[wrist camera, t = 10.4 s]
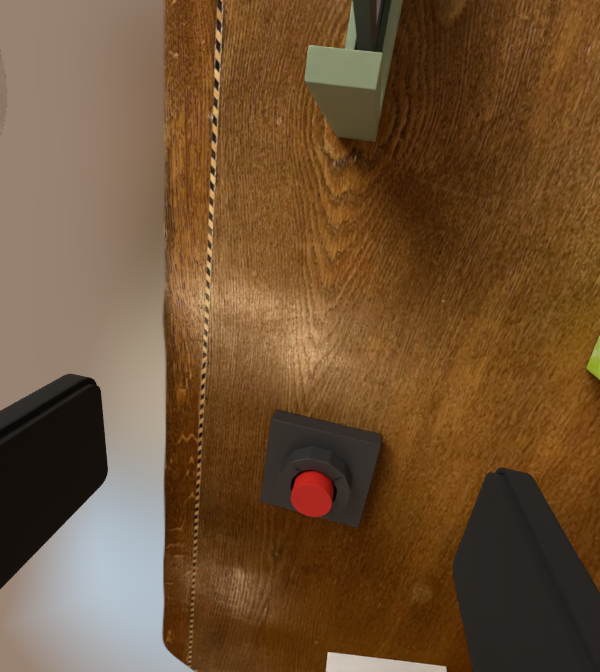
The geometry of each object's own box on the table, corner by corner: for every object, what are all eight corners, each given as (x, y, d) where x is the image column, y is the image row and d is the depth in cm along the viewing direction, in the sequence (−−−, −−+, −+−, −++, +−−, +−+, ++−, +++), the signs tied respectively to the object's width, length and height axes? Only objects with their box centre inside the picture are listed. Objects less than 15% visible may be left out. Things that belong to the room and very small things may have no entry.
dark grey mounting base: (264, 489, 39) (254, 516, 35) (276, 409, 35) (265, 430, 32) (359, 514, 37) (357, 544, 34) (381, 433, 34) (381, 458, 30)
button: (292, 496, 34) (288, 511, 33) (297, 466, 33) (293, 479, 31) (330, 506, 34) (328, 521, 32) (337, 475, 32) (335, 490, 31)
